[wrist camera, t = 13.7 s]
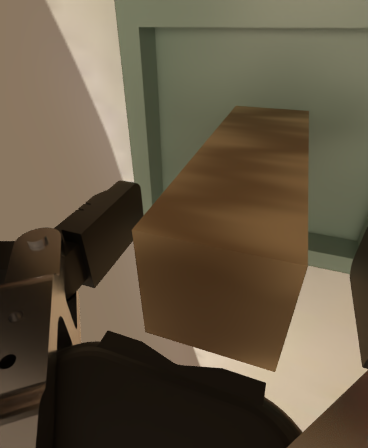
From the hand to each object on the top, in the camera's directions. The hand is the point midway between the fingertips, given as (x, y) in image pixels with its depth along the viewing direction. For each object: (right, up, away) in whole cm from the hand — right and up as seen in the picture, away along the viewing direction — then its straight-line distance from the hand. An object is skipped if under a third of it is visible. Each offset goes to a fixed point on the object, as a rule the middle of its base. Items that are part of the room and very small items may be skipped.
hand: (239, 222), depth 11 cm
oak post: (+3, +5, +7) cm, 9 cm away
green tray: (+3, +5, +8) cm, 10 cm away
